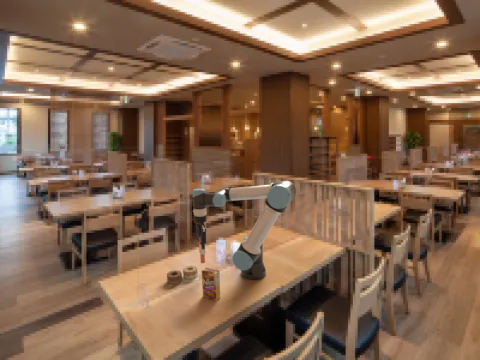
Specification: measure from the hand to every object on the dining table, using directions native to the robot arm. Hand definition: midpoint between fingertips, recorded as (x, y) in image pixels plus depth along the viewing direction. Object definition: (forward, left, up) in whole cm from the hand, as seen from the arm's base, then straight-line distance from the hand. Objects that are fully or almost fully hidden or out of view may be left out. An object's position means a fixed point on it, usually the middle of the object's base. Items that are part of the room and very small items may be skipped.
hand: (202, 253), depth 176 cm
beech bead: (+7, -2, -14) cm, 16 cm away
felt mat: (+12, -1, -15) cm, 19 cm away
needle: (0, 0, -6) cm, 6 cm away
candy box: (+3, +24, -15) cm, 29 cm away
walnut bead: (+17, 0, -14) cm, 23 cm away
